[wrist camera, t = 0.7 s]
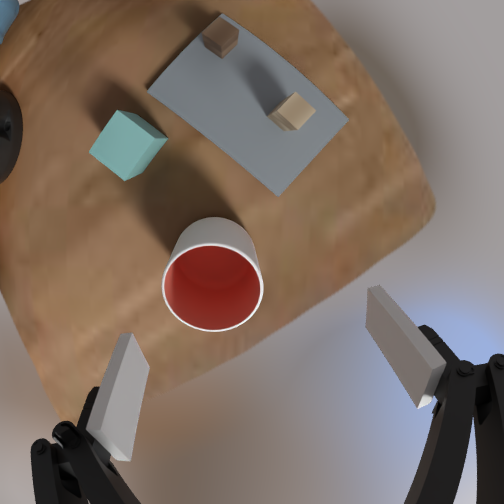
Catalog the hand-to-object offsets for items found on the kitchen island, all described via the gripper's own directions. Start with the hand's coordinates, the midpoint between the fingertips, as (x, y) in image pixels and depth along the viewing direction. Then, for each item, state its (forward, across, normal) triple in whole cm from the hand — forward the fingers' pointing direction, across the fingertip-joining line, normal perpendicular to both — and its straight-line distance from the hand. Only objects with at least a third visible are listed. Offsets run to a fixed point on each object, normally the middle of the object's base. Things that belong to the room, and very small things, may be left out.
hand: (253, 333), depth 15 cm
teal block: (+23, -10, +11) cm, 27 cm away
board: (+23, +4, +14) cm, 27 cm away
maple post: (+21, +7, +11) cm, 25 cm away
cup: (+23, -3, -4) cm, 23 cm away
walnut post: (+22, +2, +21) cm, 30 cm away
